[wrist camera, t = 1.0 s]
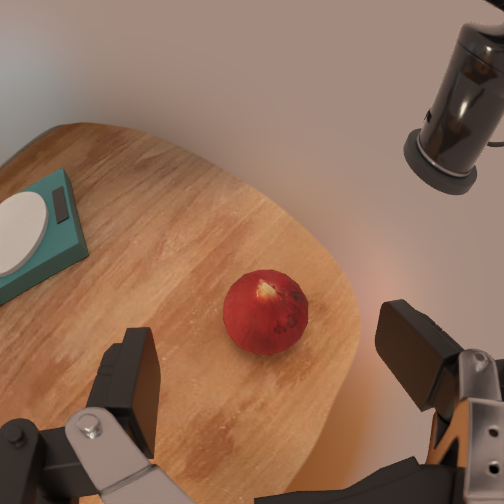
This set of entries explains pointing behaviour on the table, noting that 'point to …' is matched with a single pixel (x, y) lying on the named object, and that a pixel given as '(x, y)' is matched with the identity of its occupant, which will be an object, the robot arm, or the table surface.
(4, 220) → the scale
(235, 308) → the onion
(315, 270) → the table surface
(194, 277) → the table surface
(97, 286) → the table surface
